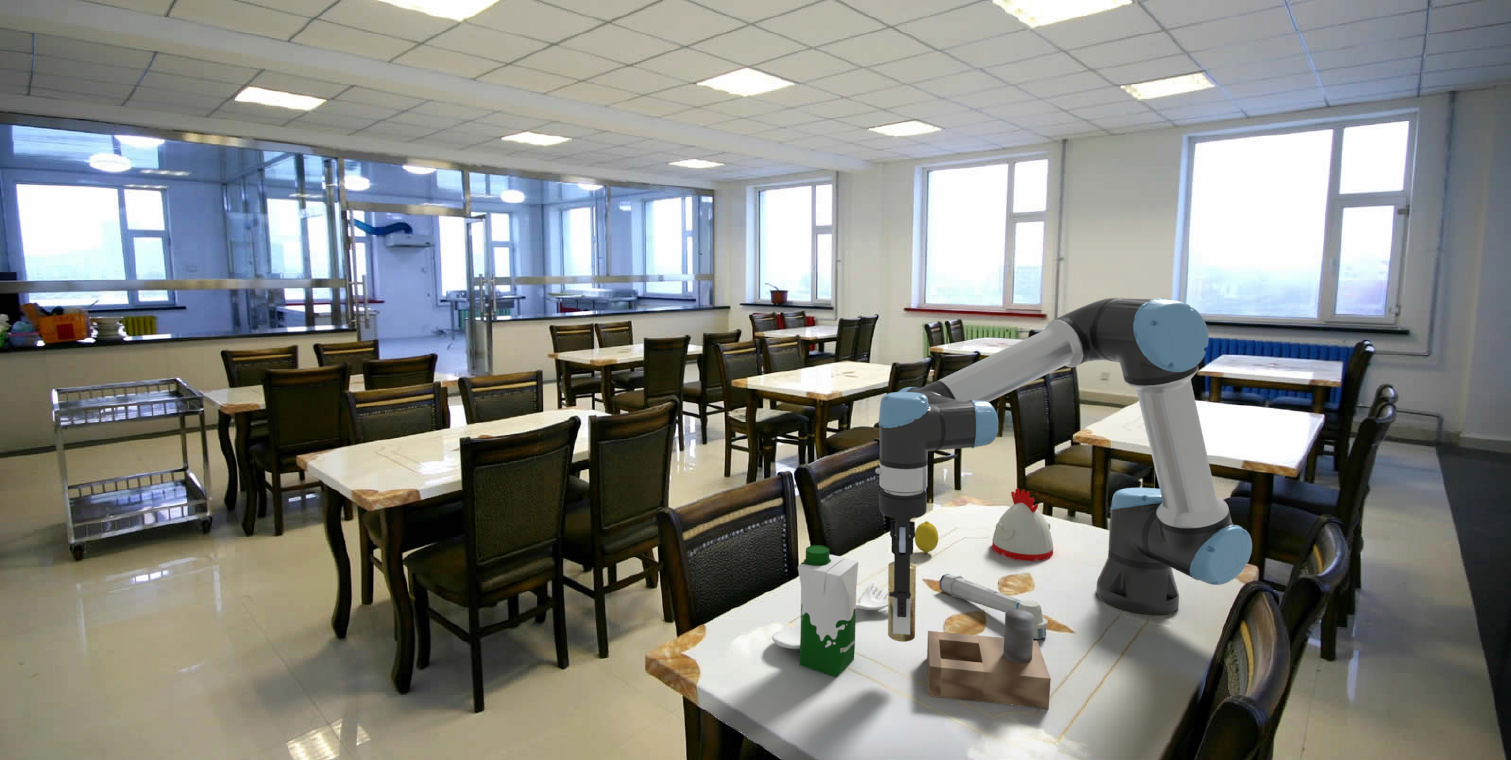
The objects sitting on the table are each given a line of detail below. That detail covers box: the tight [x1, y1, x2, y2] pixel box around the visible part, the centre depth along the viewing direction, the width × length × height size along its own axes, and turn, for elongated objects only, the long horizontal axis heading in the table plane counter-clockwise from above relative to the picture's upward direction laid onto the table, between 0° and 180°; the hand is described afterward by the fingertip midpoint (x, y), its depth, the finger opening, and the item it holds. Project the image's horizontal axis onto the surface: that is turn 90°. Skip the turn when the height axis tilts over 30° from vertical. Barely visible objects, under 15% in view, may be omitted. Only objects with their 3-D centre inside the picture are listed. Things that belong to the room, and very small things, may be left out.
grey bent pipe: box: [938, 573, 1049, 640], centre depth 146 cm, size 5×7×25 cm
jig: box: [926, 609, 1052, 710], centre depth 121 cm, size 18×12×12 cm, turn 79°
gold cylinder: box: [887, 561, 917, 643], centre depth 122 cm, size 4×4×12 cm
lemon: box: [914, 520, 939, 555], centre depth 177 cm, size 6×6×8 cm
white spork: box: [771, 582, 888, 650], centre depth 140 cm, size 9×32×4 cm, turn 133°
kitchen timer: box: [991, 487, 1054, 562], centre depth 179 cm, size 14×14×15 cm
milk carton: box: [797, 544, 859, 678], centre depth 126 cm, size 9×9×20 cm
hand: (901, 625), depth 122 cm, fingers closed on gold cylinder, 4 cm apart
